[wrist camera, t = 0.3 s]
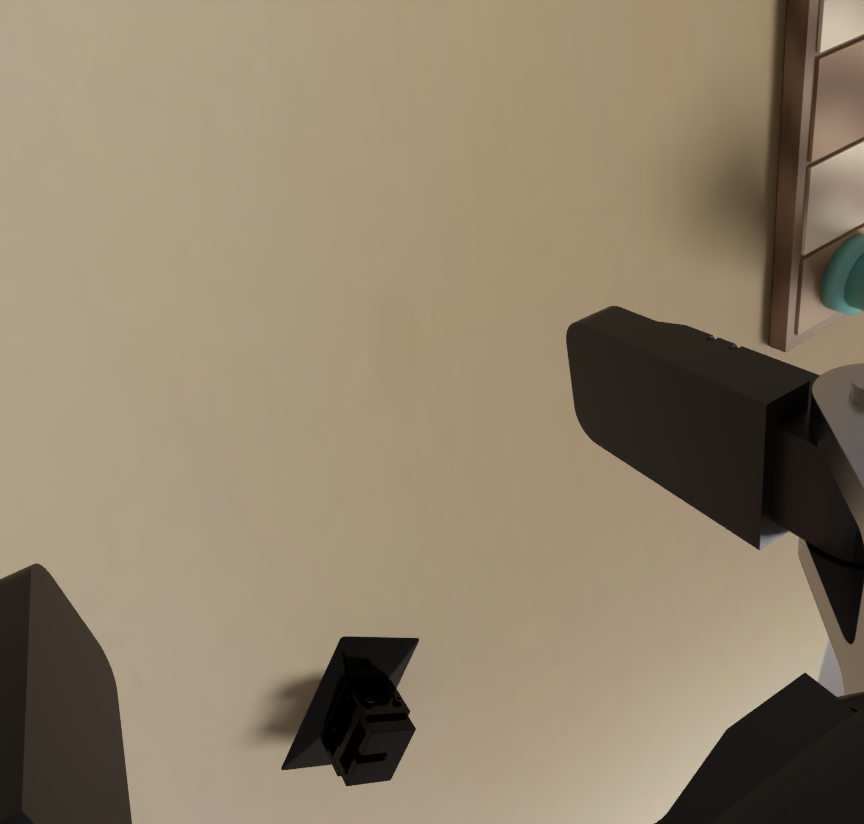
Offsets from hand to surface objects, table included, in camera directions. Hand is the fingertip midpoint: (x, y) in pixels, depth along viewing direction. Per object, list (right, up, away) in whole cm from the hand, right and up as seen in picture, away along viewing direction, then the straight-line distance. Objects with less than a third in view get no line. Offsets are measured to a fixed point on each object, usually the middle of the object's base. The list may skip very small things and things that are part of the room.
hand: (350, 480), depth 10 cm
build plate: (-4, -15, +30) cm, 34 cm away
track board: (+25, +17, +30) cm, 42 cm away
